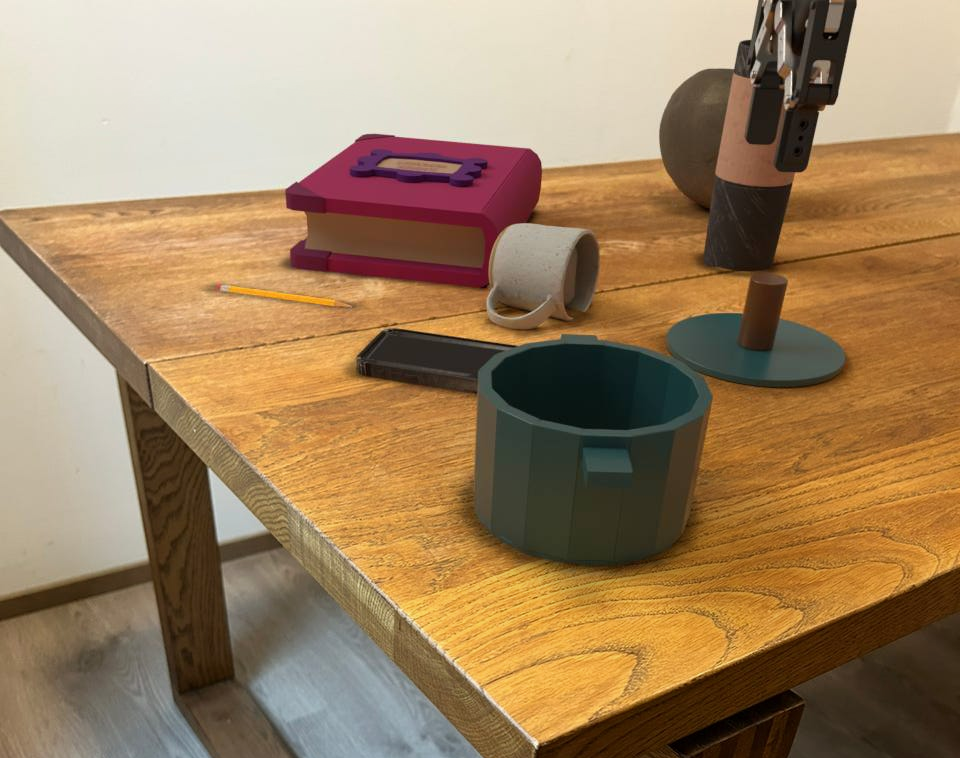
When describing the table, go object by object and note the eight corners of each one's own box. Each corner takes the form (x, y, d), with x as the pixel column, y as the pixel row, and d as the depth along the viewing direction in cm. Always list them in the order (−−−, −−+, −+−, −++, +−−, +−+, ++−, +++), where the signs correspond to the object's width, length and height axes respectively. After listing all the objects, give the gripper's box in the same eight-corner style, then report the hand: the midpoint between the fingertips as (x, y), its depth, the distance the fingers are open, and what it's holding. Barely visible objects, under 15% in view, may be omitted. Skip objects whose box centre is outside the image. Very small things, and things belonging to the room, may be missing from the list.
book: (539, 213, 117) (544, 142, 112) (495, 291, 95) (499, 207, 91) (366, 197, 120) (364, 127, 115) (285, 269, 98) (278, 186, 93)
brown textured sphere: (767, 199, 126) (794, 64, 117) (764, 230, 115) (794, 83, 106) (655, 188, 129) (674, 54, 119) (642, 217, 118) (661, 72, 109)
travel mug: (745, 282, 100) (791, 54, 88) (685, 262, 105) (721, 42, 92) (788, 268, 105) (838, 48, 92) (728, 249, 109) (768, 37, 97)
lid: (814, 328, 91) (833, 253, 87) (865, 397, 79) (889, 314, 75) (653, 322, 90) (664, 246, 86) (680, 391, 79) (694, 307, 75)
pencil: (219, 291, 93) (218, 283, 93) (355, 309, 91) (354, 301, 90) (215, 293, 92) (214, 286, 92) (352, 312, 90) (351, 304, 90)
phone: (385, 326, 84) (560, 351, 81) (385, 339, 84) (559, 364, 82) (351, 361, 78) (538, 389, 75) (351, 375, 78) (537, 403, 76)
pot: (662, 443, 72) (681, 327, 66) (713, 598, 57) (743, 463, 51) (472, 437, 71) (477, 320, 66) (473, 591, 56) (479, 455, 51)
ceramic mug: (519, 290, 96) (524, 206, 91) (597, 307, 93) (606, 221, 88) (463, 325, 88) (465, 235, 84) (545, 345, 85) (552, 253, 81)
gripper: (932, -124, 56) (856, 183, 66) (852, -127, 67) (797, 136, 77) (800, -130, 56) (744, 180, 66) (742, -132, 67) (701, 133, 77)
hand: (773, 156), depth 72 cm, fingers open, 8 cm apart
